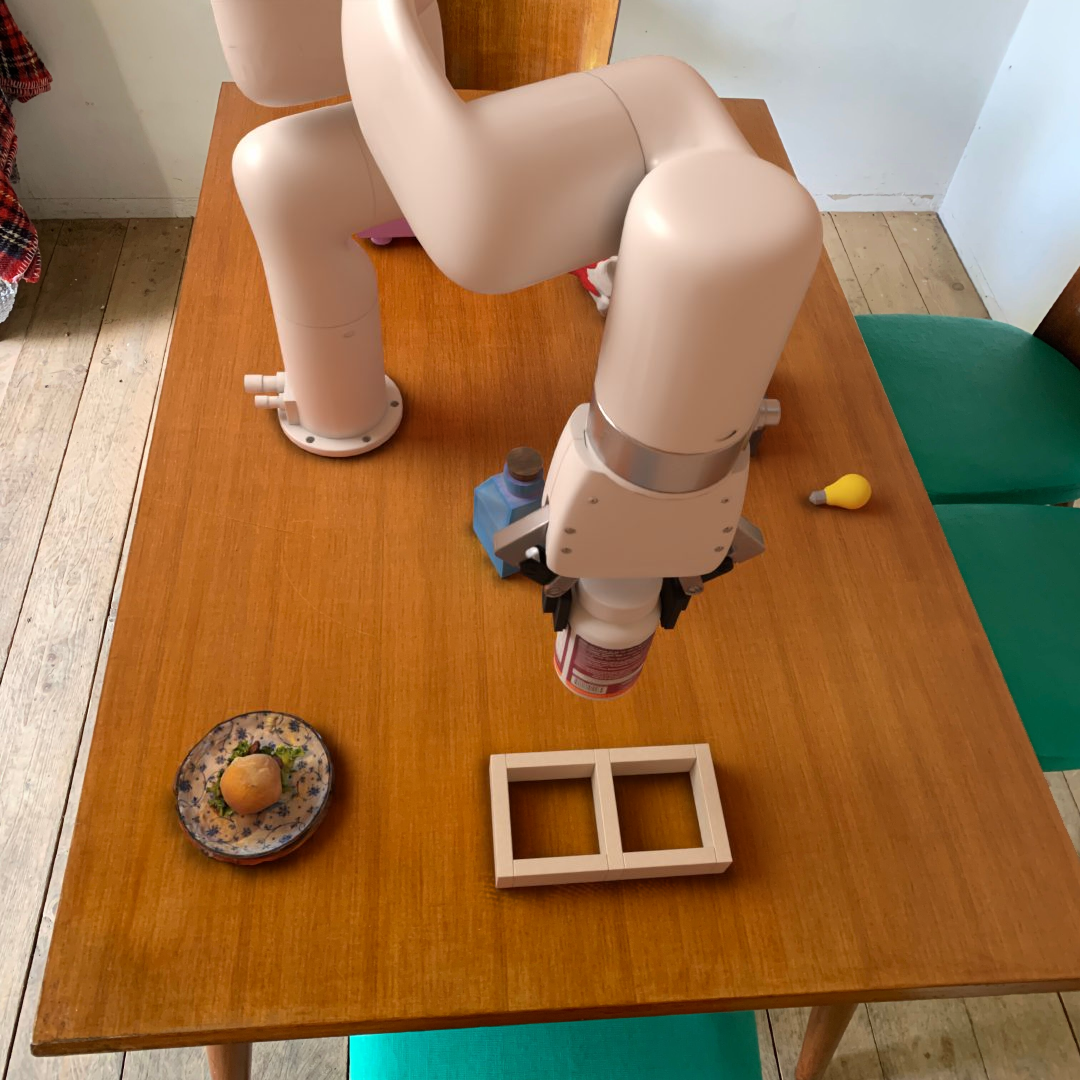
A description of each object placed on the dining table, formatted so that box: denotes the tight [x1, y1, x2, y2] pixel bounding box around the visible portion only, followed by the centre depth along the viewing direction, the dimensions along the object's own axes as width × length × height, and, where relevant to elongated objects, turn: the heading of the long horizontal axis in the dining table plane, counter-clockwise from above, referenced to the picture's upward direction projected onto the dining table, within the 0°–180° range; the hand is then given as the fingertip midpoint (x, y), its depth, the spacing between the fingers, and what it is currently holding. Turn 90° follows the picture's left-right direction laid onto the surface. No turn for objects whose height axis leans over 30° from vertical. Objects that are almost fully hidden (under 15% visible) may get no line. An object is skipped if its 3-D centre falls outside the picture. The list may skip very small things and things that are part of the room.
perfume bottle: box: [472, 446, 546, 579], centre depth 83 cm, size 6×6×12 cm
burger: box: [172, 709, 336, 866], centre depth 69 cm, size 12×12×8 cm
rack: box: [488, 742, 733, 889], centre depth 71 cm, size 18×9×3 cm, turn 95°
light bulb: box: [808, 473, 872, 510], centre depth 92 cm, size 3×6×4 cm, turn 94°
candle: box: [567, 256, 618, 319], centre depth 106 cm, size 9×11×15 cm
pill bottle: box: [553, 577, 663, 702], centre depth 59 cm, size 6×6×11 cm
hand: (611, 609), depth 58 cm, fingers closed on pill bottle, 6 cm apart
